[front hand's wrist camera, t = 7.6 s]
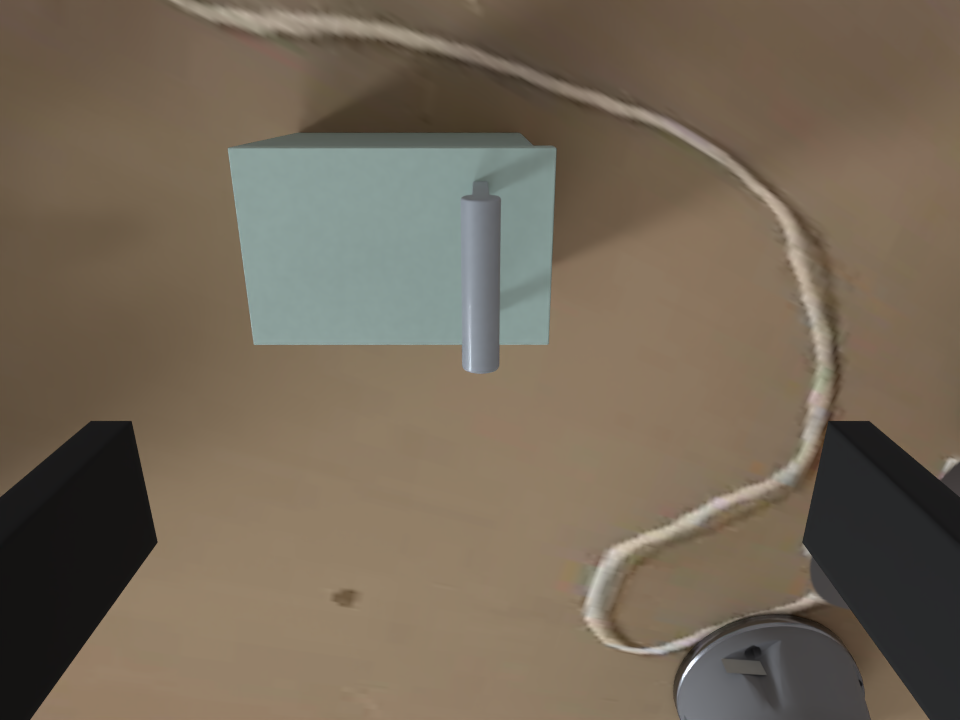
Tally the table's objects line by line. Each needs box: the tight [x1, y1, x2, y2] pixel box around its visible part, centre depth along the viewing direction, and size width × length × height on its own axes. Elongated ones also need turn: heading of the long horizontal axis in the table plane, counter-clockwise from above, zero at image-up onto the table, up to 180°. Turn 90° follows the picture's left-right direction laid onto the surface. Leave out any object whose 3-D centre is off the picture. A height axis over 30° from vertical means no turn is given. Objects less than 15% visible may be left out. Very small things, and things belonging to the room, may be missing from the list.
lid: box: [228, 146, 556, 373], centre depth 29 cm, size 15×9×8 cm, turn 90°
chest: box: [239, 133, 533, 146], centre depth 38 cm, size 14×9×11 cm
